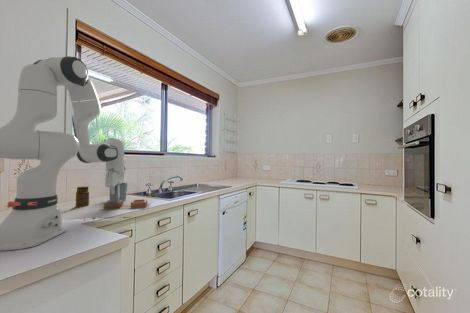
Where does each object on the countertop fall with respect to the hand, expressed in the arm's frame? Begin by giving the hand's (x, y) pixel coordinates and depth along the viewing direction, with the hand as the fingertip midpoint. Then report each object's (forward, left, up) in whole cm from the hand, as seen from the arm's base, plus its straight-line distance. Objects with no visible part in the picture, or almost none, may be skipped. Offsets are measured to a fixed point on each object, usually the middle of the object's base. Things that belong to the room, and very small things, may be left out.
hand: (114, 193), depth 119 cm
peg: (0, 0, -5) cm, 5 cm away
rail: (+1, -6, -9) cm, 11 cm away
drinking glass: (+20, +3, -9) cm, 22 cm away
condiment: (+7, +18, -9) cm, 21 cm away
